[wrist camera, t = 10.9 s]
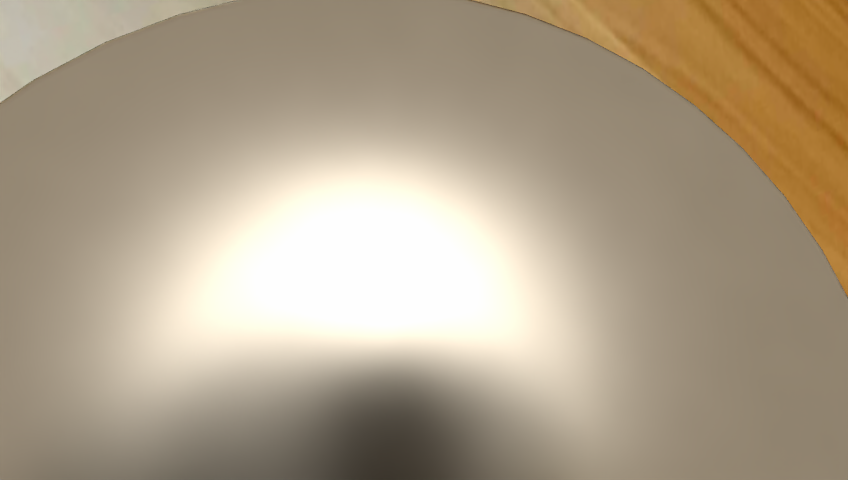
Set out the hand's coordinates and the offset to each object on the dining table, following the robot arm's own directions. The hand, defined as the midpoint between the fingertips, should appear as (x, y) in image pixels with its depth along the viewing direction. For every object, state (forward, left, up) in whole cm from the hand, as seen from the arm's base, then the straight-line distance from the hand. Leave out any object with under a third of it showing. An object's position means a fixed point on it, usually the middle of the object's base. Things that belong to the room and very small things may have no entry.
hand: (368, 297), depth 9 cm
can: (-1, 0, -7) cm, 7 cm away
